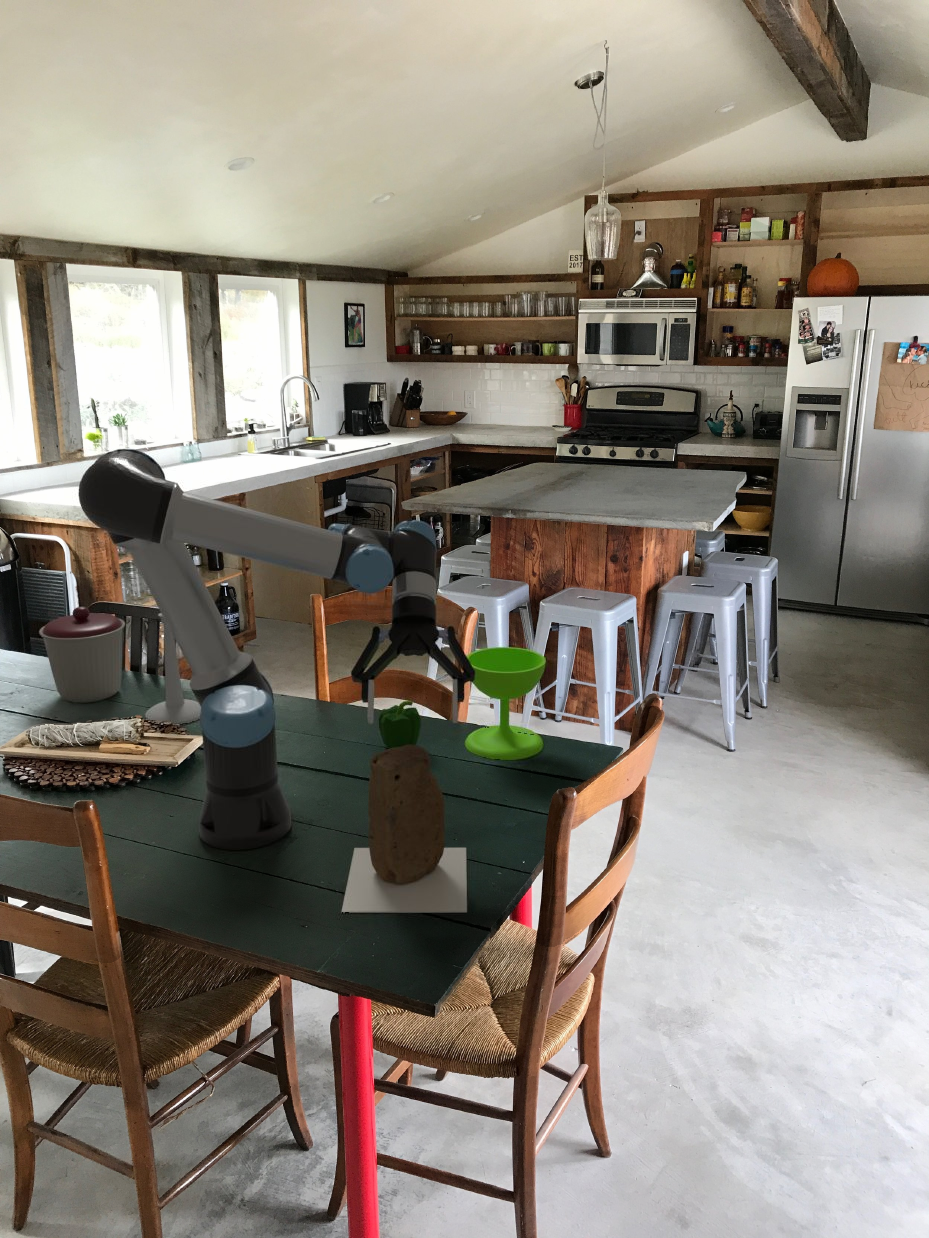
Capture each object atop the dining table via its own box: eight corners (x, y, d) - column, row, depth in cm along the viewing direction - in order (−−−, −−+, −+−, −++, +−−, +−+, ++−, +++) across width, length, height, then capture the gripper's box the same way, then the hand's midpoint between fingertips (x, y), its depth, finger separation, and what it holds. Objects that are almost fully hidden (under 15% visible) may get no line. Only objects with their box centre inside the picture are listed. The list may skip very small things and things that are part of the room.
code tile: (341, 912, 140) (341, 911, 139) (354, 849, 157) (354, 847, 157) (466, 912, 140) (466, 910, 140) (466, 848, 157) (466, 847, 157)
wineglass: (492, 722, 208) (493, 642, 203) (558, 739, 199) (560, 656, 194) (449, 747, 195) (448, 662, 190) (517, 767, 187) (518, 678, 182)
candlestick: (133, 723, 208) (119, 587, 199) (164, 702, 220) (152, 572, 211) (188, 728, 205) (176, 590, 197) (216, 706, 217) (206, 575, 208)
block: (387, 891, 144) (384, 768, 139) (365, 869, 150) (361, 750, 145) (450, 872, 150) (450, 752, 144) (427, 850, 156) (425, 735, 150)
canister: (140, 680, 233) (132, 596, 227) (119, 708, 216) (110, 617, 210) (63, 682, 232) (52, 597, 226) (36, 710, 214) (23, 619, 209)
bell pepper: (373, 753, 193) (371, 706, 190) (387, 737, 200) (386, 692, 197) (413, 758, 190) (412, 710, 187) (426, 742, 198) (426, 696, 195)
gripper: (486, 614, 169) (489, 728, 159) (343, 615, 169) (337, 729, 159) (488, 593, 163) (491, 710, 153) (338, 593, 162) (332, 711, 152)
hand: (412, 720), depth 156 cm, fingers open, 13 cm apart
